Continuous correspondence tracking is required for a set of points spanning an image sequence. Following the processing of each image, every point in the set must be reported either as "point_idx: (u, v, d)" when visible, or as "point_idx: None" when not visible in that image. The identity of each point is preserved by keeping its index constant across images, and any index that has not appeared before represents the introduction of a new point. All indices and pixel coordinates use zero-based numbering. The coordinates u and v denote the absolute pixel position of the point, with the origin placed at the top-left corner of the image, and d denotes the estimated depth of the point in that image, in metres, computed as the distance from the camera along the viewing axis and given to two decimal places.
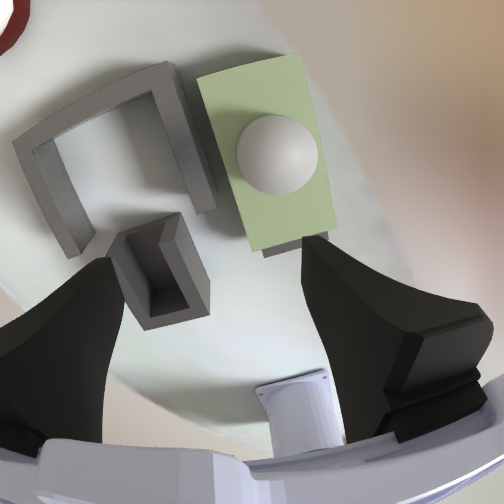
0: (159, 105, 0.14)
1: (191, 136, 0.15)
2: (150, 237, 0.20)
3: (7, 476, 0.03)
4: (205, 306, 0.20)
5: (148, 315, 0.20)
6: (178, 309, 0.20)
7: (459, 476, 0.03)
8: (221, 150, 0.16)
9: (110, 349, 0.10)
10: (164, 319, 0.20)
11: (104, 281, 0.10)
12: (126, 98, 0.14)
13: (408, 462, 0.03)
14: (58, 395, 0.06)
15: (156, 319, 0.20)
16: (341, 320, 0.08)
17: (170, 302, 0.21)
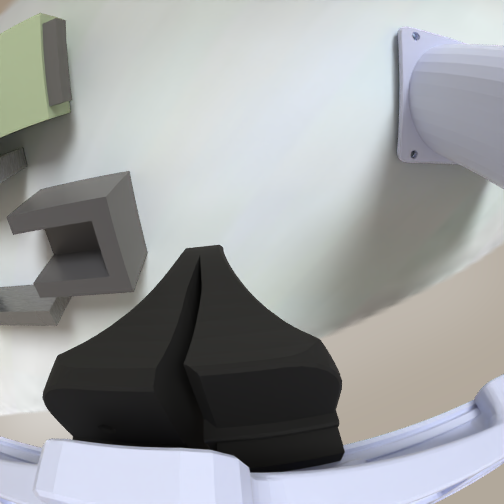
0: None
1: None
2: (55, 230, 0.16)
3: (7, 476, 0.03)
4: (91, 199, 0.12)
5: (106, 276, 0.14)
6: None
7: (459, 476, 0.03)
8: None
9: None
10: (111, 259, 0.14)
11: None
12: None
13: (408, 462, 0.03)
14: (191, 399, 0.06)
15: (112, 269, 0.14)
16: None
17: None
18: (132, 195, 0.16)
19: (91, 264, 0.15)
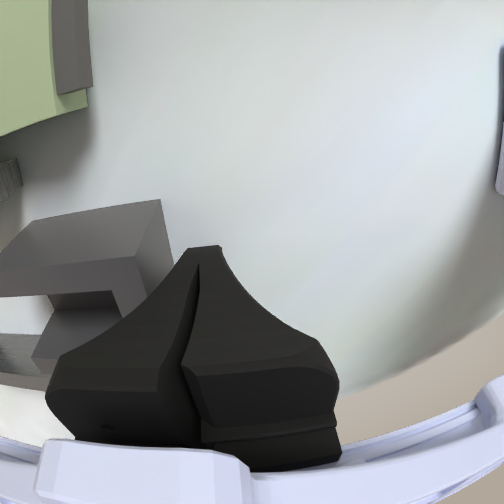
0: None
1: None
2: None
3: (7, 476, 0.03)
4: (109, 258, 0.08)
5: None
6: None
7: (459, 476, 0.03)
8: None
9: None
10: None
11: None
12: None
13: (408, 462, 0.03)
14: (193, 399, 0.06)
15: None
16: None
17: None
18: (164, 236, 0.11)
19: None
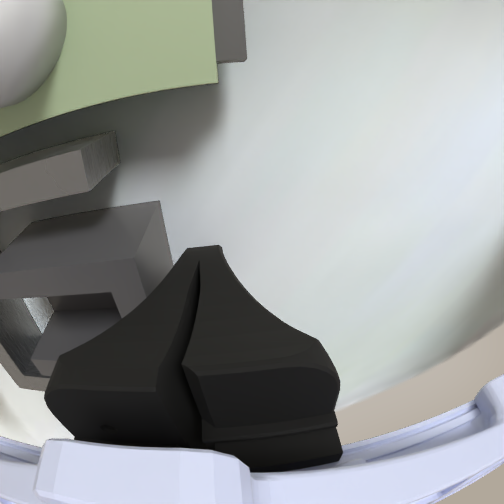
0: None
1: None
2: None
3: (7, 476, 0.03)
4: (109, 260, 0.08)
5: None
6: None
7: (459, 476, 0.03)
8: (4, 131, 0.07)
9: None
10: None
11: None
12: None
13: (408, 462, 0.03)
14: (192, 399, 0.06)
15: None
16: None
17: None
18: (164, 237, 0.11)
19: None
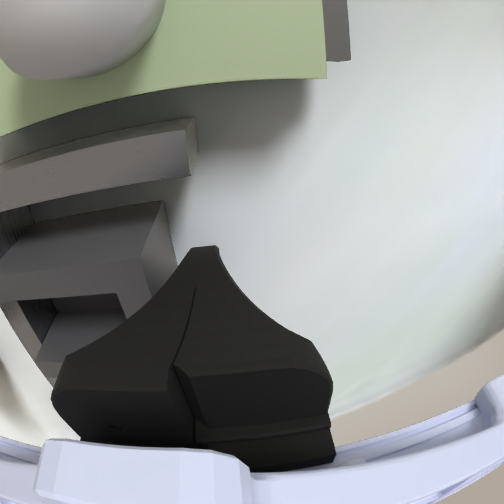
0: None
1: (38, 161, 0.07)
2: None
3: (7, 476, 0.03)
4: (114, 261, 0.08)
5: None
6: (126, 312, 0.09)
7: (459, 476, 0.03)
8: (77, 105, 0.07)
9: None
10: None
11: None
12: None
13: (408, 462, 0.03)
14: None
15: None
16: None
17: None
18: (168, 238, 0.11)
19: None
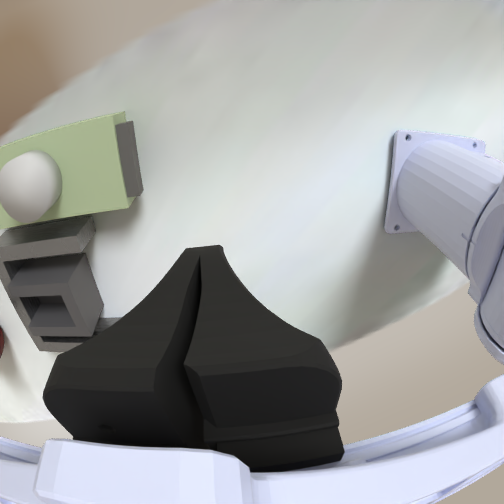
0: (10, 259, 0.17)
1: (27, 242, 0.17)
2: None
3: (7, 476, 0.03)
4: (59, 282, 0.18)
5: (74, 326, 0.20)
6: None
7: (459, 476, 0.03)
8: (38, 220, 0.17)
9: None
10: (76, 317, 0.20)
11: None
12: (9, 277, 0.18)
13: (408, 462, 0.03)
14: (191, 399, 0.06)
15: (77, 323, 0.20)
16: None
17: None
18: (89, 269, 0.22)
19: (65, 315, 0.21)
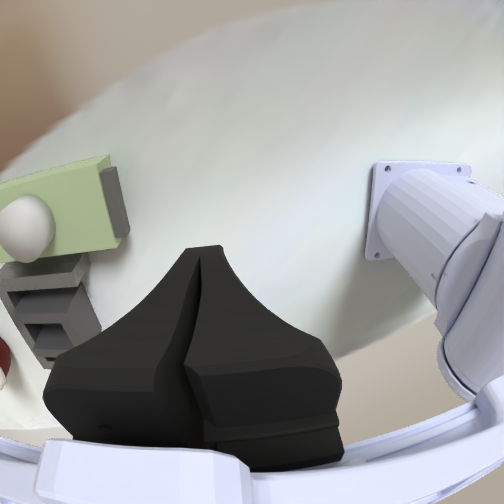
0: (13, 289, 0.19)
1: (27, 276, 0.19)
2: None
3: (7, 476, 0.03)
4: (58, 312, 0.20)
5: None
6: None
7: (459, 476, 0.03)
8: None
9: None
10: (75, 342, 0.21)
11: None
12: (13, 305, 0.20)
13: (408, 462, 0.03)
14: (191, 399, 0.06)
15: None
16: None
17: None
18: (86, 297, 0.23)
19: (66, 338, 0.23)
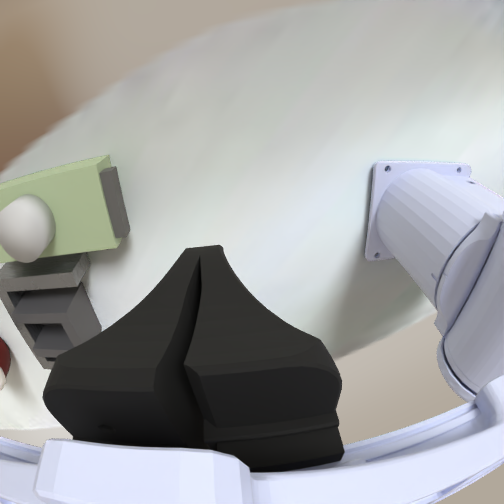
0: (13, 289, 0.19)
1: (27, 276, 0.19)
2: None
3: (7, 476, 0.03)
4: (58, 312, 0.20)
5: None
6: None
7: (459, 476, 0.03)
8: None
9: None
10: (75, 342, 0.21)
11: None
12: (13, 305, 0.20)
13: (408, 462, 0.03)
14: (191, 399, 0.06)
15: None
16: None
17: None
18: (86, 297, 0.23)
19: (66, 338, 0.23)
